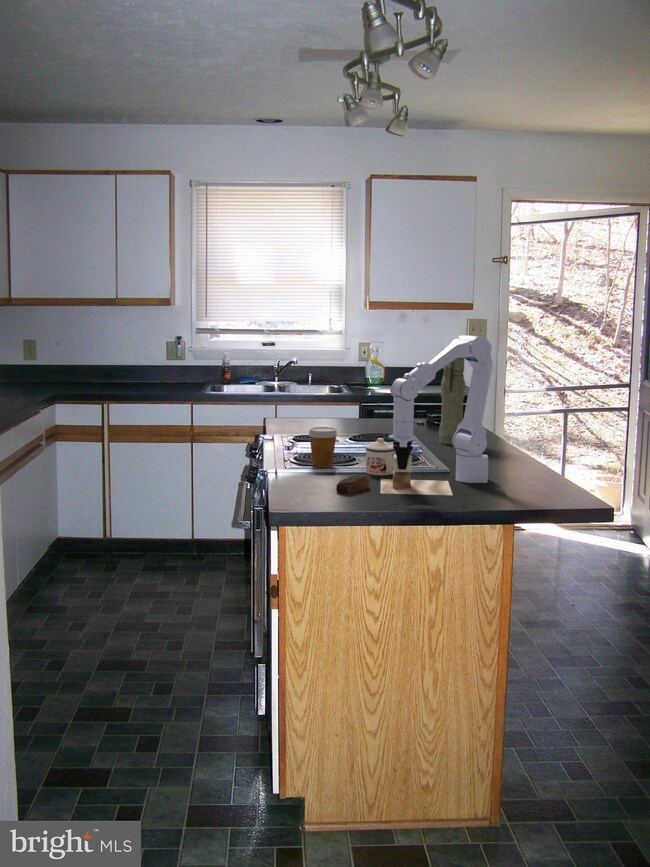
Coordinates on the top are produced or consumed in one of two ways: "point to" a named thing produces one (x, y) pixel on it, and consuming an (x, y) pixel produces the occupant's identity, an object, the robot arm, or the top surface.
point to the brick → (353, 484)
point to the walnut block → (401, 479)
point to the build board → (418, 487)
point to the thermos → (451, 400)
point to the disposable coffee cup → (322, 445)
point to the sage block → (409, 464)
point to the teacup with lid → (379, 458)
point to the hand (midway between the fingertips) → (402, 467)
